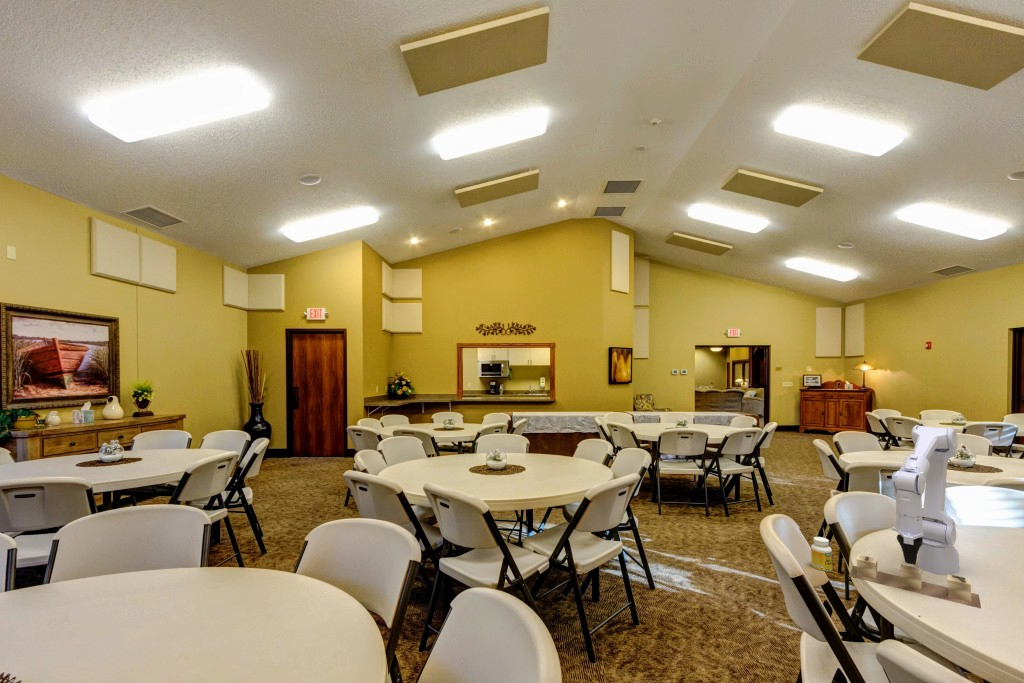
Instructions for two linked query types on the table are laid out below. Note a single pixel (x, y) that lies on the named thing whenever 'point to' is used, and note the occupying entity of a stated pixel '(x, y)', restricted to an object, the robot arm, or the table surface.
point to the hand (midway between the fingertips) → (910, 563)
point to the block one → (867, 566)
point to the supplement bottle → (821, 554)
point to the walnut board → (925, 590)
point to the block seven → (959, 588)
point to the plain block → (910, 577)
